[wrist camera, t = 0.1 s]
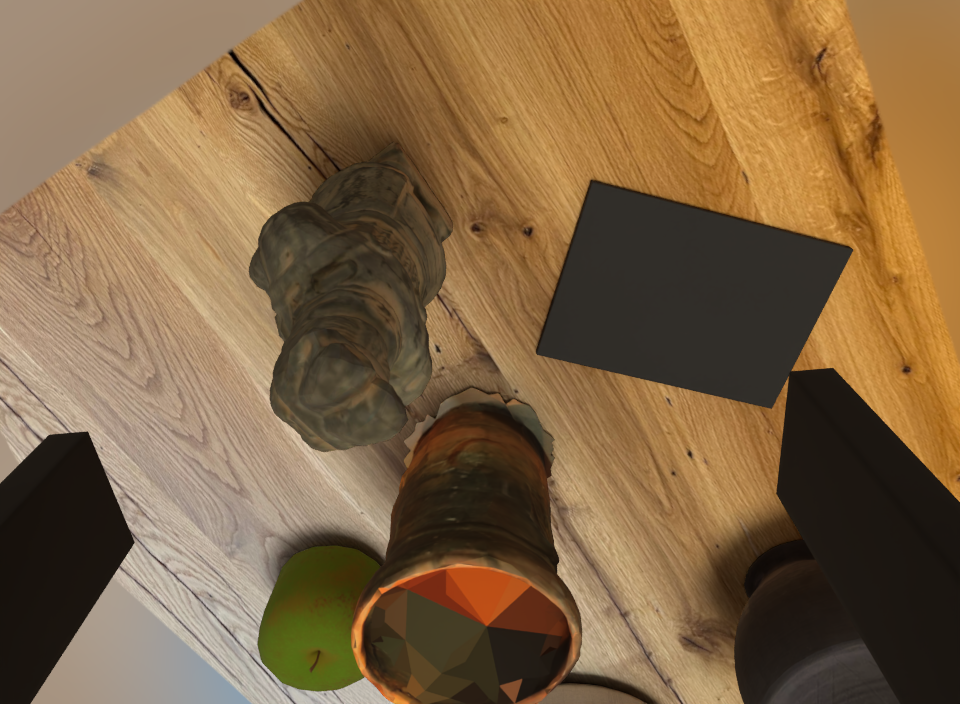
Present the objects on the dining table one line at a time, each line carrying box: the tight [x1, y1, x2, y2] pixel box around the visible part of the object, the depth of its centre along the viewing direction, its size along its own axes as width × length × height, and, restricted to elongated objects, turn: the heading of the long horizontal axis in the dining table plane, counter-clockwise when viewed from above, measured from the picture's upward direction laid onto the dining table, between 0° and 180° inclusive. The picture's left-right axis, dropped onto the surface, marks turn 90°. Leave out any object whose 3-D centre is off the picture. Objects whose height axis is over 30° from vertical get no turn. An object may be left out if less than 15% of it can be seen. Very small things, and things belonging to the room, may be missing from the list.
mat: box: [536, 180, 853, 409], centre depth 53 cm, size 20×14×1 cm
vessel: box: [351, 388, 582, 704], centre depth 51 cm, size 14×14×20 cm
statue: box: [249, 142, 453, 452], centre depth 37 cm, size 11×9×30 cm
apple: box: [258, 545, 380, 692], centre depth 61 cm, size 11×11×11 cm
